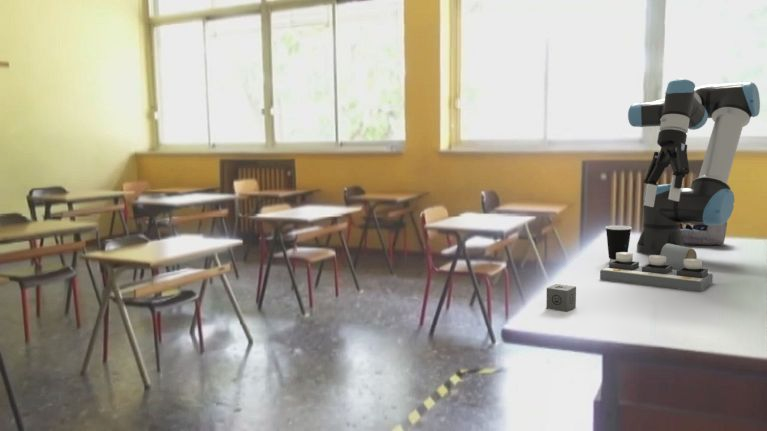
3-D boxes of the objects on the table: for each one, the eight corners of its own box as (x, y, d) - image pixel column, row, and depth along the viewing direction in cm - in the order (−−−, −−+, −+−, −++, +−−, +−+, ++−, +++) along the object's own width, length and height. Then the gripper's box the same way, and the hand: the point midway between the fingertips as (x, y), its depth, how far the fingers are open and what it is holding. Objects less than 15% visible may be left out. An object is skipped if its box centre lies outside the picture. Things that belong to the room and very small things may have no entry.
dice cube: (555, 304, 154) (555, 283, 153) (575, 307, 151) (576, 286, 150) (546, 308, 150) (546, 287, 149) (566, 312, 147) (567, 290, 146)
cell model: (729, 217, 224) (667, 216, 231) (729, 247, 225) (666, 246, 233) (725, 212, 236) (666, 212, 243) (725, 241, 237) (665, 240, 245)
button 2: (685, 265, 174) (686, 257, 174) (703, 267, 171) (703, 259, 171) (681, 267, 171) (681, 260, 171) (699, 269, 168) (699, 262, 168)
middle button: (651, 261, 180) (651, 254, 180) (668, 263, 177) (668, 256, 177) (646, 264, 176) (646, 257, 176) (663, 266, 174) (663, 258, 173)
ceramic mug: (687, 274, 184) (688, 247, 183) (658, 270, 190) (659, 244, 189) (702, 269, 191) (703, 243, 190) (674, 265, 197) (675, 241, 196)
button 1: (619, 258, 185) (619, 251, 185) (634, 260, 183) (634, 253, 182) (613, 260, 182) (613, 253, 182) (629, 262, 179) (629, 255, 179)
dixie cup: (634, 263, 200) (635, 228, 199) (608, 263, 201) (609, 228, 199) (626, 259, 208) (627, 225, 207) (601, 259, 209) (602, 225, 207)
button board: (615, 271, 189) (615, 258, 188) (712, 282, 172) (713, 268, 172) (600, 279, 180) (600, 265, 179) (700, 291, 163) (701, 276, 163)
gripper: (639, 138, 198) (627, 205, 196) (685, 118, 174) (671, 194, 171) (662, 144, 199) (650, 211, 196) (711, 125, 174) (698, 200, 171)
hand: (660, 203), depth 184 cm, fingers open, 13 cm apart
